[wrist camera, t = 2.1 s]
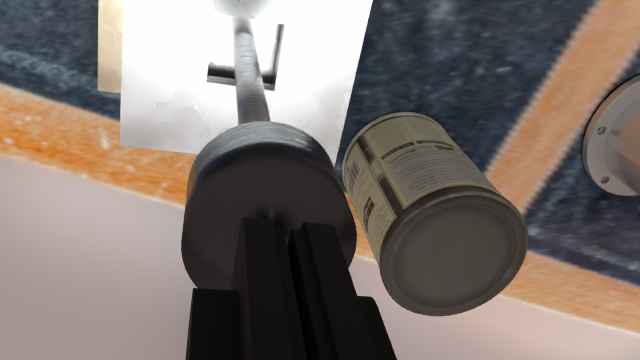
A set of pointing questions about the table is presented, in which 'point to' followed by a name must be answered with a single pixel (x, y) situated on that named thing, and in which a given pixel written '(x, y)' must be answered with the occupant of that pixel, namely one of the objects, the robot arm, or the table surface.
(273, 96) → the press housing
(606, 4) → the table surface
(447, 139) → the coffee can
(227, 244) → the plunger
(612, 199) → the table surface
